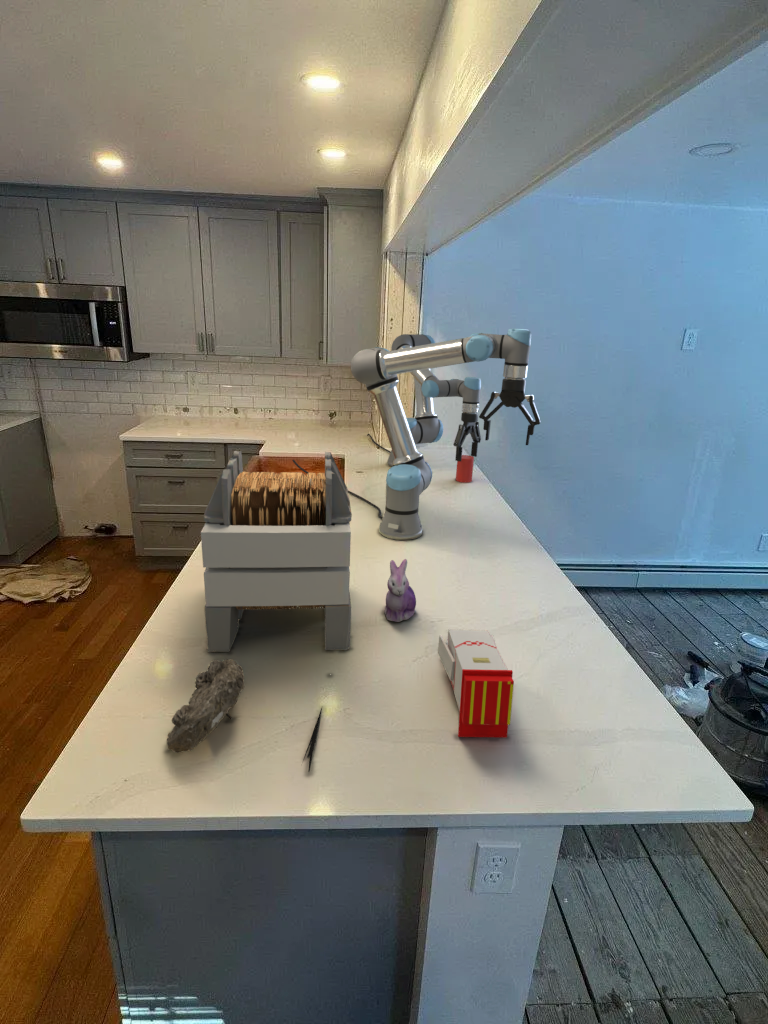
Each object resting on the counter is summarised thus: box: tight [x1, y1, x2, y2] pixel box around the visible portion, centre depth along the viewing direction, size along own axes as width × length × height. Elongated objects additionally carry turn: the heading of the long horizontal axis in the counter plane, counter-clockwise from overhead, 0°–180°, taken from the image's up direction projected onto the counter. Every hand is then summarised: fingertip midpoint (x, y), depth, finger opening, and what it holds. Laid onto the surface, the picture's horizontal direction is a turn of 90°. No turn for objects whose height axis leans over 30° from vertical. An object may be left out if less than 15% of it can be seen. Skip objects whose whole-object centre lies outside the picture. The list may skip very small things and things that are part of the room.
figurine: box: [384, 558, 417, 623], centre depth 145 cm, size 9×10×15 cm
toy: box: [437, 628, 515, 738], centre depth 117 cm, size 12×13×30 cm
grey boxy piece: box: [200, 450, 353, 653], centre depth 138 cm, size 34×33×41 cm
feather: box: [301, 673, 332, 771], centre depth 108 cm, size 2×28×2 cm
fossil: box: [166, 658, 245, 754], centre depth 106 cm, size 22×10×15 cm
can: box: [455, 454, 475, 484], centre depth 265 cm, size 8×8×11 cm
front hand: (506, 442), depth 193 cm, fingers open, 13 cm apart
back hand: (466, 458), depth 263 cm, fingers open, 13 cm apart
